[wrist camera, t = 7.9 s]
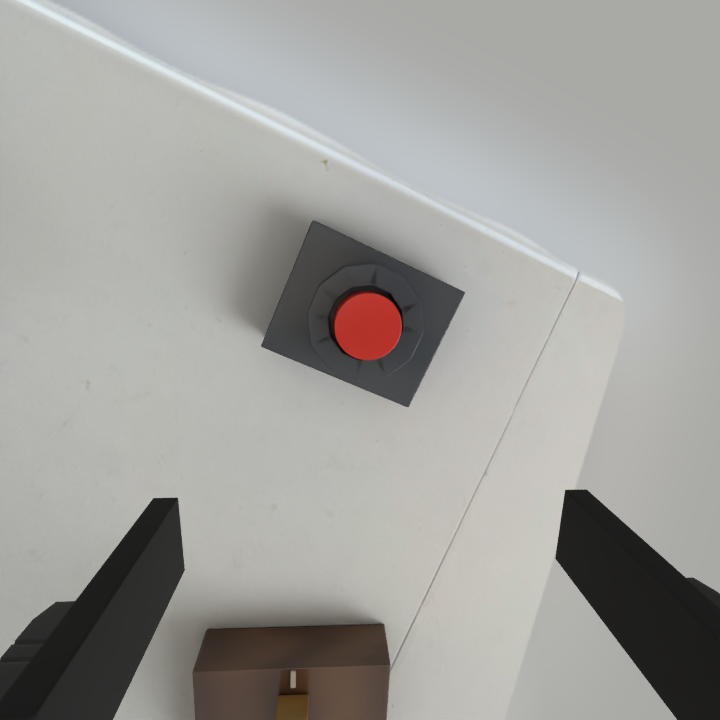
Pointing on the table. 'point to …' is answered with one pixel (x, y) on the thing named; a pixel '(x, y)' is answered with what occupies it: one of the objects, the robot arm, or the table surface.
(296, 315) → the grey square base
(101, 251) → the table surface
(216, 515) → the table surface
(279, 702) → the thumb turn
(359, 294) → the button
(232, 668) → the plate
